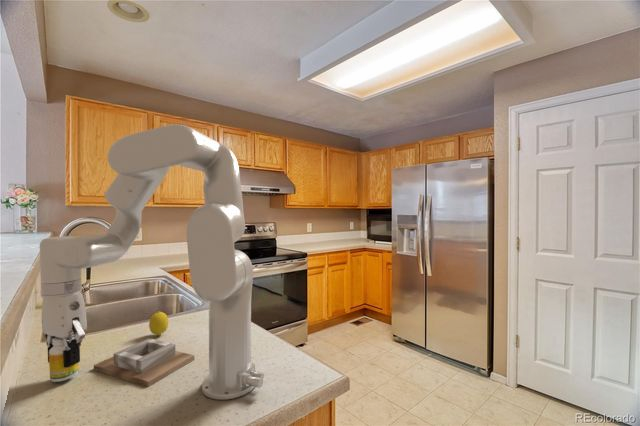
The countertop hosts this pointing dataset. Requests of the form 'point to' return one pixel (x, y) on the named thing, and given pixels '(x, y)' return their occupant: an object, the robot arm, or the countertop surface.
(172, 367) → the dock board
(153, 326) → the lemon
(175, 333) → the countertop surface
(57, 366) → the supplement bottle
